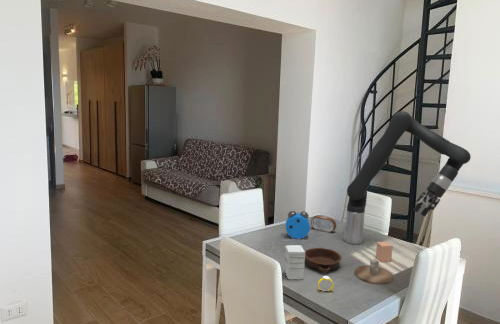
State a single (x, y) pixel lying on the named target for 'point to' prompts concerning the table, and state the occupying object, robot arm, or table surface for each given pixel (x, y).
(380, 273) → the post stand
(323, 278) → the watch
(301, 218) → the alarm clock
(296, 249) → the supplement box
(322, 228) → the copper desk clock
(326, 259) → the dish
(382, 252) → the salmon pink block
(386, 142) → the robot arm
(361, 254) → the table surface
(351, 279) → the table surface
